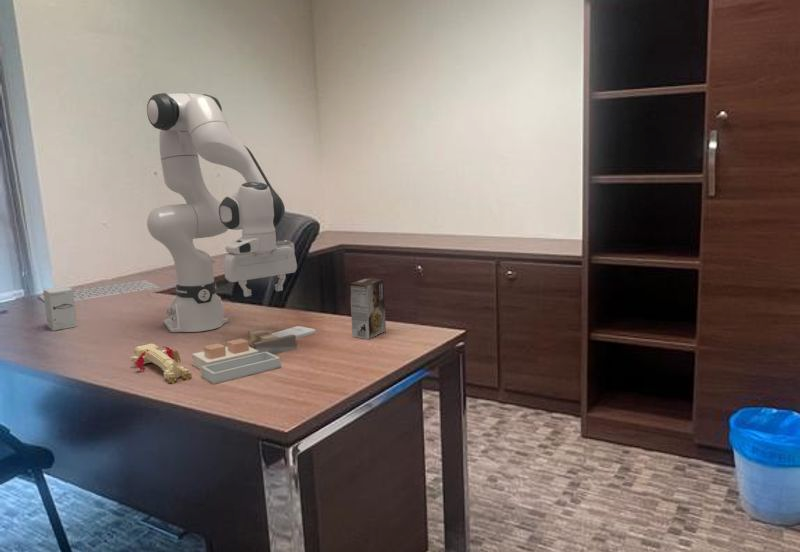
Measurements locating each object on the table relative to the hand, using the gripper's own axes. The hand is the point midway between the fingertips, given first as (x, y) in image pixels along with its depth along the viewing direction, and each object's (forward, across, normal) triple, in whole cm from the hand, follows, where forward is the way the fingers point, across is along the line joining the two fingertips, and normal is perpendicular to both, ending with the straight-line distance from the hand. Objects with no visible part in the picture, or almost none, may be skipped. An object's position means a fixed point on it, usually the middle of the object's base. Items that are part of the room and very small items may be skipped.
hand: (263, 293), depth 187 cm
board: (+16, +14, +4) cm, 21 cm away
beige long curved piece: (+16, +29, -4) cm, 33 cm away
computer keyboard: (+15, +12, -121) cm, 123 cm away
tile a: (+13, +17, +5) cm, 22 cm away
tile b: (+13, +11, +5) cm, 17 cm away
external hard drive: (+16, -12, -8) cm, 22 cm away
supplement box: (+15, +37, -71) cm, 82 cm away
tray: (+16, +14, +13) cm, 25 cm away
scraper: (+16, 0, -2) cm, 16 cm away
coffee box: (+16, -29, +8) cm, 34 cm away
